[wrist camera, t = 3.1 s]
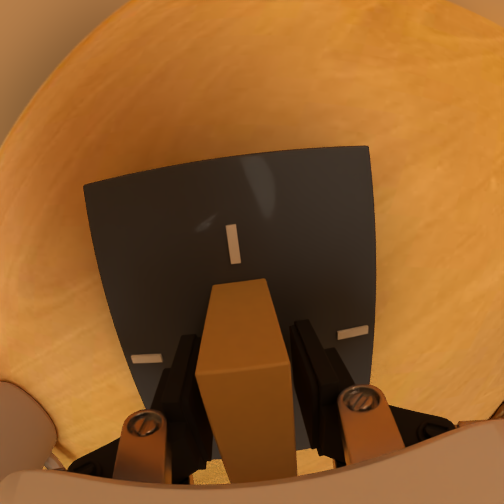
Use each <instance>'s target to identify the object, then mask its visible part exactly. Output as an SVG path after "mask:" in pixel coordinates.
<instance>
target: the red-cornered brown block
mask: <svg viewBox="0 0 504 504" xmlns="http://www.w3.org/2000/svg"><path fill="white" fill-rule="evenodd" d="M195 376H196V380H197V383H198V387H199V390H200V394H201V397H202V400H203V404H204V407H205V410H206V413H207V416H208V420H209V423H210V426H211V429H212V432H213V435H214V438H215V441H216V444H217V447H218V450H219V453H220V455H221V458H222V461H223V464H224V467H225V469H226V472H227V475H228V477H229V480H230V483H231V484H235V483H248V482H259V481H268V480H276V479H283V478H289V477H296V476H297V460H296V441H295V424H294V408H293V393H292V379H291V366H290V360H289V357H288V353H287V350H286V347H285V343H284V340H283V336H282V333H281V329H280V326H279V323H278V319H277V316H276V312H275V309H274V305H273V302H272V299H271V295H270V292H269V288H268V285H267V282H266V279H264V278H263V279H256V280H248V281H241V282H233V283H225V284H217V285H213V286H212V291H211V295H210V300H209V305H208V310H207V315H206V320H205V325H204V330H203V335H202V340H201V345H200V350H199V355H198V360H197V366H196V371H195Z"/></svg>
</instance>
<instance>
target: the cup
mask: <svg viewBox="0 0 504 504" xmlns="http://www.w3.org/2000/svg"><path fill="white" fill-rule="evenodd" d="M56 440H57V435H56V430H55V426H54V424H53V422H52V420H51V419H50V417H49V416H48V414H47V413H46V412H45V410H44V409H43V408H42V407H41V406H40V405H39V404H38V403H37V402H36V401H35V400H34V399H33V398H32V397H31V396H30V395H29V394H27V393H26V392H25V391H23V390H22V389H20V388H19V387H17V386H15V385H14V384H11V383H8V382H0V482H1V481H2V480H3V479H4V478H5V477H6V476H7V475H9V474H11V473H13V472H17V471H21V470H31V469H43V466H45V467H46V468H47V469H48V470H51V469H56V468H61V467H63V465H62V463H61V462H60V461H59V460H58V458H57V457H56V456H55V455H54V454H53V453H52V452H51V451H52V449H53V447H54V445H55V443H56Z"/></svg>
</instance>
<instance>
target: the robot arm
mask: <svg viewBox="0 0 504 504" xmlns="http://www.w3.org/2000/svg"><path fill="white" fill-rule="evenodd" d="M289 331H290V344H291V357H292V370H293V383H294V388H295V392H296V395H297V399H298V403H299V406H300V410H301V414H302V417H303V421H304V425H305V428H306V432H307V436H308V439H309V443H310V447H311V449H316V448H317V451H318V454H319V456H323V455H325V456H327V457H330V458H332V459H333V468H334V469H331V470H327V471H322V472H317V473H312V474H307V475H301V476H296V477H289V478H283V479H276V480H268V481H259V482H248V483H235V484H214V485H194V480H193V475H192V474H193V473H194V472H196V471H197V470H203V469H206V462H207V461H211V460H212V446H213V432H212V429H211V426H210V423H209V420H208V416H207V413H206V410H205V407H204V404H203V400H202V397H201V394H200V390H199V387H198V383H197V380H196V376H195V371H196V366H197V360H198V355H199V350H200V345H201V340H202V337H197V335H196V334H188V335H181V338H180V341H179V344H178V347H177V350H176V353H175V356H174V360H173V363H172V366H171V368H165V369H164V370H163V371H162V374H161V377H160V380H159V383H158V386H157V389H156V392H155V395H154V398H153V401H152V404H151V407H150V409H144V410H139V411H137V412H134V413H133V414H131V415H130V416H128V417H127V419H126V420H125V421H124V424H123V427H122V431H121V436H120V438H118V439H116V440H114V441H113V442H111V443H109V444H107V445H105V446H103V447H101V448H99V449H97V450H95V451H93V452H91V453H89V454H87V455H85V456H83V457H81V458H79V459H77V460H75V461H74V462H73V463H72V464H71V465H70V466H69V468H68V470H66V469H65V467H61V468H56V469H51V470H46V469H31V470H21V471H17V472H13V473H11V474H9V475H7V476H6V477H5V478H4V479H3V480H2V481H1V482H0V504H504V418H499V419H489V420H475V421H459V422H458V424H457V425H453V423H452V422H451V421H449V420H448V419H445V418H442V417H439V416H434V415H429V414H424V413H420V412H415V411H411V410H407V409H403V408H399V407H395V406H391V405H388V403H387V400H386V398H385V396H384V394H383V392H382V391H381V390H380V389H379V388H377V387H375V386H373V385H369V384H355V382H354V380H353V379H352V377H351V375H350V373H349V371H348V370H347V368H346V366H345V364H344V362H343V361H342V359H341V357H340V355H339V353H338V352H337V350H336V348H335V347H332V348H327V349H324V348H323V346H322V344H321V342H320V340H319V338H318V336H317V334H316V332H315V330H314V328H313V327H312V325H311V323H310V321H309V319H305V320H299V321H294V325H290V326H289Z"/></svg>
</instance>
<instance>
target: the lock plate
mask: <svg viewBox="0 0 504 504" xmlns="http://www.w3.org/2000/svg"><path fill="white" fill-rule="evenodd" d="M83 189H84V196H85V202H86V208H87V214H88V220H89V226H90V231H91V236H92V241H93V246H94V250H95V255H96V259H97V264H98V268H99V272H100V276H101V280H102V284H103V288H104V291H105V295H106V299H107V302H108V306H109V309H110V313H111V316H112V319H113V322H114V326H115V329H116V332H117V335H118V338H119V341H120V344H121V347H122V350H123V352H124V355H125V358H126V361H127V363H128V366H129V369H130V371H131V374H132V377H133V379H134V382H135V384H136V387H137V389H138V391H139V394H140V396H141V399H142V401H143V403H144V406H145V408H146V409H150V407H151V404H152V401H153V398H154V395H155V392H156V389H157V386H158V383H159V380H160V377H161V374H162V371H163V370H164V369H165V368H171V366H172V363H173V360H174V356H175V353H176V350H177V347H178V344H179V341H180V338H181V335H188V334H196V335H197V337H202V335H203V330H204V325H205V320H206V315H207V310H208V305H209V300H210V295H211V291H212V286H213V285H217V284H225V283H233V282H241V281H248V280H256V279H263V278H264V279H266V282H267V285H268V288H269V292H270V295H271V299H272V302H273V305H274V309H275V312H276V316H277V319H278V323H279V326H280V329H281V333H282V336H283V340H284V343H285V347H286V350H287V353H288V357H289V360H290V366H291V379H292V393H293V408H294V424H295V441H296V451H297V450H303V449H308V448H311V447H310V443H309V439H308V436H307V432H306V428H305V425H304V421H303V417H302V414H301V410H300V406H299V403H298V399H297V395H296V392H295V388H294V383H293V370H292V357H291V344H290V331H289V326H290V325H294V321H299V320H305V319H309V321H310V323H311V325H312V327H313V328H314V330H315V332H316V334H317V336H318V338H319V340H320V342H321V344H322V346H323V348H324V349H327V348H332V347H335V348H336V350H337V352H338V353H339V355H340V357H341V359H342V361H343V362H344V364H345V366H346V368H347V370H348V371H349V373H350V375H351V377H352V379H353V380H354V382H355V384H370V375H371V365H372V354H373V341H374V326H375V303H376V235H375V213H374V197H373V184H372V173H371V163H370V154H369V147H368V146H341V147H322V148H307V149H294V150H282V151H272V152H262V153H253V154H245V155H237V156H229V157H222V158H215V159H208V160H202V161H196V162H189V163H184V164H178V165H172V166H167V167H161V168H156V169H151V170H146V171H141V172H137V173H132V174H127V175H123V176H118V177H114V178H110V179H106V180H101V181H97V182H93V183H89V184H86V185H84V186H83ZM214 459H222V458H221V455H220V453H219V450H218V447H217V444H216V441H215V438H214V435H213V446H212V460H214Z"/></svg>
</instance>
